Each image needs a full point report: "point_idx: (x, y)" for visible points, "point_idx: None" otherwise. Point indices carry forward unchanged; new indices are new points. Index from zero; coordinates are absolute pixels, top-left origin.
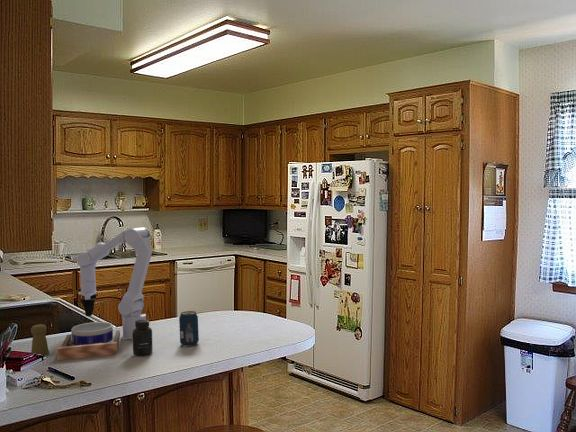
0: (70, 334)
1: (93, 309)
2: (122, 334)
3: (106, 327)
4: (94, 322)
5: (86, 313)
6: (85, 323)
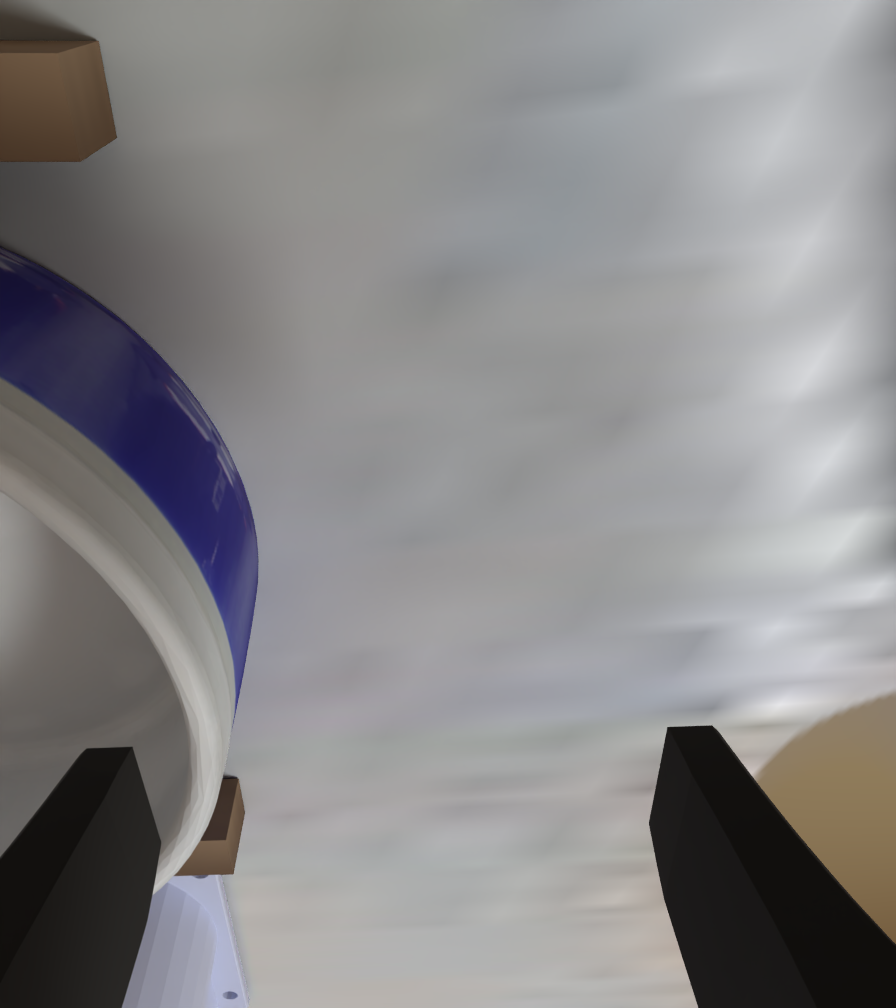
0: (69, 141)
1: (668, 899)
2: None
3: None
4: (193, 734)
5: (43, 832)
6: (116, 586)
